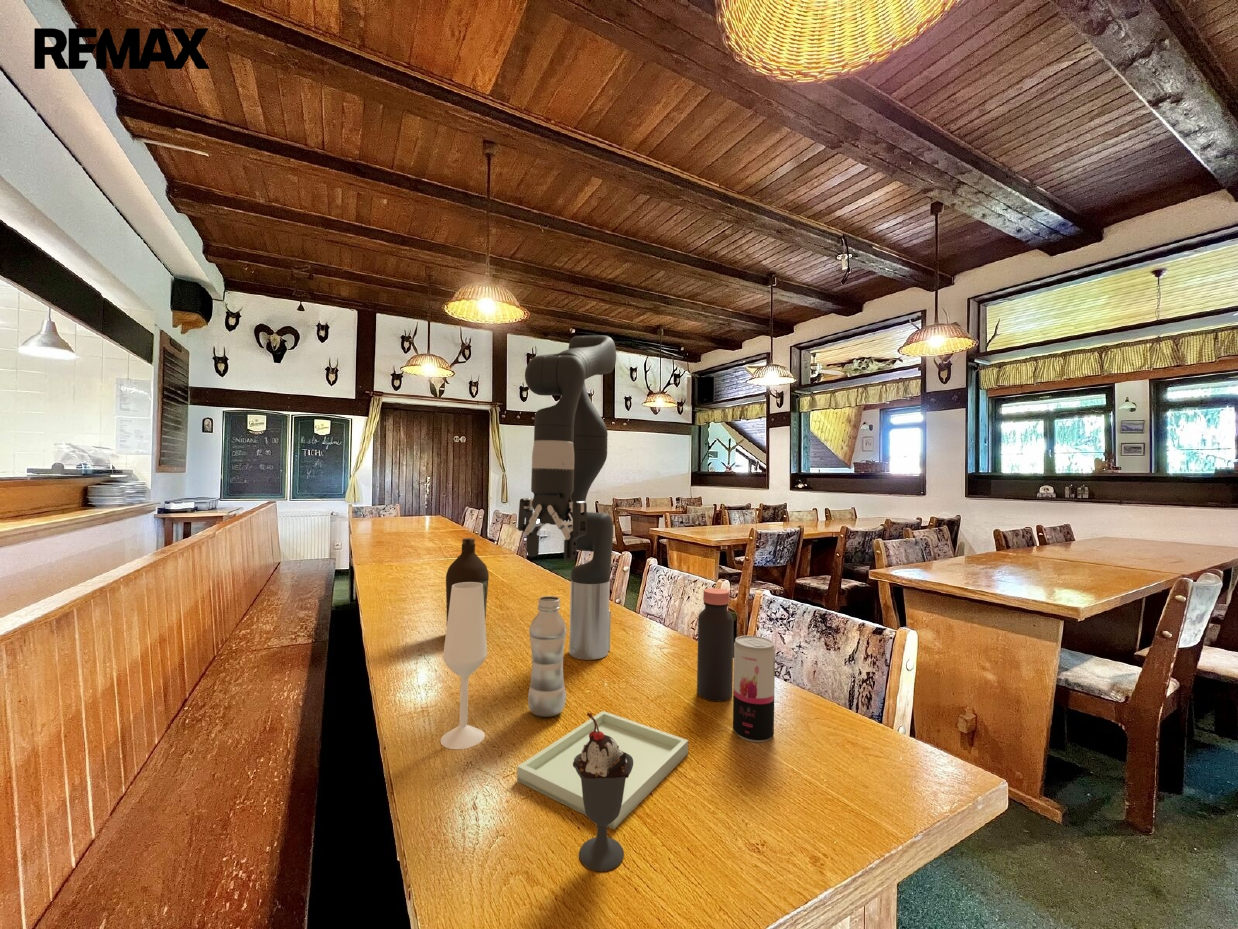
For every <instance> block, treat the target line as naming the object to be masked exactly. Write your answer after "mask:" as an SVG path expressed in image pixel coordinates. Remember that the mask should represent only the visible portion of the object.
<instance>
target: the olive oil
mask: <svg viewBox="0 0 1238 929" xmlns="http://www.w3.org/2000/svg"><path fill="white" fill-rule="evenodd" d="M461 540H462V541H461V542H462V543H461V553H460V554H459V556H457V557H456V559H455V560H454V561H453V562H452V563H451V564H450V565H449V567H448V569H447V571H446V575H445V593H446V594H445V596H446V598H445V599H446V600H445V601H446V607H445V608H446V622H447V621H448V613H449V605H450V597H451V589H452V585H453V584H456V583H462V582H478V583H482V584H483V595H484V611H485V620H486V618H487V600H488V590H489V588H488V587H489V571H488V567H487V565H486V563H484V561H483V560H482V559H481V558H480V557H479V556H478V555H477V554H476V543H475V542H476V539H475V538H474V537H466V538H462V539H461Z"/></svg>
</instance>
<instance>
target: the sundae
mask: <svg viewBox="0 0 1238 929" xmlns="http://www.w3.org/2000/svg"><path fill="white" fill-rule="evenodd" d="M586 716H587V717H588V718H590V719H592V718H593V717H594V716H593V714H592V713H590V712H587V714H586ZM592 720H593V721H594V725H595V728H594V731H592V732H591V733H590V734H589V738H590V740H589V742H587V743H586V745H584V748H583V750H582V753H581V754H579V755H577V756H576V757H575V758H574V762H573V767H574V768H575V769H576V771H577V773H578V775H579V776H580V778H581V783H582V794H583V803H584V808H585V813H586V815H587V816H586V815H585V816H586V817H587V818H588V819H589V820H590V822H592V823H593V824H594V825H596V836H595V837H592V838H589V839H588V840H586V841H585V842H584V843H583V844H581V846H580V849H579V852H578V856H579V857H578V858H579V860H580V861H581V863H582V865H584V866H585V867H586V868H587V869H589V870H592V871H595V872H608V871H612V870H614V869H615V868H617V867H618V866H619V865H620V864H621V863H622V862H623V859H624V856H625V853H624V852H625V851H624V848H623V847H622V844H620V842H618V840H615V839H613V838H612V837H608V826H607V825H608V824H610V823H612V822H613V821H614V820H615V819H616V818H617V817H618V816H619V813H620V809H621V805H622V801H623V794H624V787H625V780H626V778H628V777H629V774H630V773H631V770H632V768H633V758H632V757H631V756H630V755H629V754H627V753H625V752H623V751H621V750H619V746H618V745H617V743H616V742H615V741H614V740H613V739H612V738H611V737H610V736H607V735H604V734H603V732H601V731H600V732H599V729H598V725H597V723H596V720H595V719H594V718H593V719H592ZM596 726H597V731H598V732H597V731H596Z"/></svg>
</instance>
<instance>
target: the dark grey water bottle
mask: <svg viewBox="0 0 1238 929" xmlns="http://www.w3.org/2000/svg"><path fill="white" fill-rule="evenodd" d="M702 601H703V604H704V609H703V610H701V611H700V613H699V614H698V617H697V658H696V659H697V664H696V667H697V670H696V672H697V673H696V676H697V677H696V692H697V695H698V696H700V697H701V698H702V699H705V700H707V701H712V702H724V701H728V700H730V699H731V698H733V683H734V624H735V623H734V617H733V615H732V614H731V612H729V610H728V606H729V604H730V591H728V590H727V589H723V588H714V587H711V588H710V587H709V588H704V590H703V600H702Z"/></svg>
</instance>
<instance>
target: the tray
mask: <svg viewBox="0 0 1238 929" xmlns="http://www.w3.org/2000/svg"><path fill="white" fill-rule="evenodd" d="M592 717H593V718H594V719H595V720H596V723H597V725H598V729H599V732H600V731H601V732H603V734H604V735H607V736H610V737H611V738H612V739H613V740H614V741H615V742H616V743H617V745H618V746H619V750H621V751H623V752H625V753H627V754H629V755H630V756H631V757H632V758H633V768H632V770H631V773H630V774H629V777H628V778H626V780H625V787H624V794H623V801H622V805H621V809H620V813H619V816H618V817H617V818H616V819H615V820H614V821H613V822H612V823H610V824H608V825H607V828H610V829H612V830H615V829H616V828H617V827H618V826H619V825H620V824H621V823H622V822H623V821H624V820H625V819H626V818H627V817H628V816H629V815H630V814H631V813H632V812H633V811H634V810H635V809H636V808H637V807H638V806H639V805H640V804H641V803H642V802H643V800H644V799H645V798H647V796H649V794H651V792H653V791H654V789H656V787H657V786H658V785H659V784H660V783H661V782H662V781H663V780H664V779H665V778H666V777H668V775H670V773H671V772H672V771H673V770H674V769H675V768H676V767H677V766H678V764H680V763H681V762H682V761H683V760H684V759H685V758H686V757H687V756H688V755H689V739H686V738H684V737H680V736H678V735H674V734H673V733H672V734H671V733H669V732H665V731H662V730H660V729H657V728H654V727H651V726H648V725H645V724H642V723H639V722H637V721H634V720H630V719H628V718H625V717H622V716H619V715H616V714H614V713H610V712H607V711H605V710H602V711H600V712H599V713H597V714H595V715H594V716H592ZM592 717H591V718H592ZM591 718H590V719H588V720H587V721H585V722H583V723H582V724H581V725H579V726H578V727H576V728H574V729H572V730H571V731H570V732H569V733H567V734H564V735H563V736H562V737H560V738H558V739H557V740H555V741H554V742H553V743H551V744H550V745H547V747H545V748H543V749H541V750H540V751H539V752H537V753H535V754H534V755H533V756H531V757H529V758H528V759H527V760H524V761H523V762H522V763H520V764H519V765H517V769H516V771H517V772H516V773H517V774H516V775H517V776H516V781H517V782H518V783H519V784H522V785H524V786H526V787H527V788H530V789H532V790H534V791H536V792H537V793H539V794H542V795H544V796H546V797H547V798H550V799H552V800H554V801H556V802H558V803H560V804H562V805H564V806H566V807H568V808H570V809H571V810H574V811H576V812H578V813H580V814H582V815H584V816H585V817H587V815H586V813H585V808H584V803H583V794H582V783H581V778H580V776H579V775H578V773H577V771H576V769H575V768H574V767H573V762H574V758H575V757H576V756H577V755H579V754H581V753H582V750H583V748H584V745H586V743H587V742H589V740H590V738H589V734H590V733H591V732H592V731H594V728H595V725H594V721H593V720H592V719H593V718H592V719H591ZM596 731H597V726H596ZM597 732H598V731H597Z"/></svg>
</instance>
